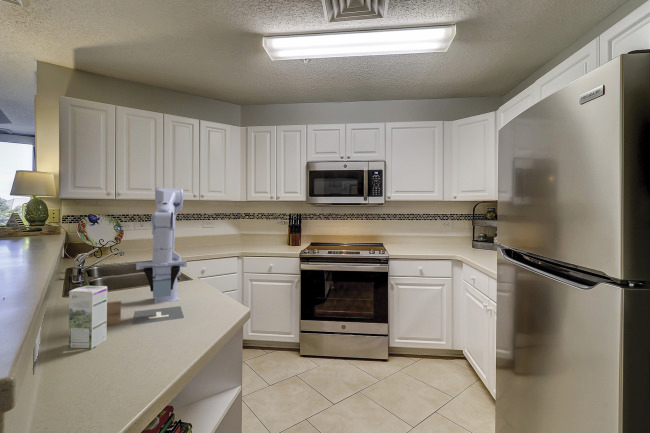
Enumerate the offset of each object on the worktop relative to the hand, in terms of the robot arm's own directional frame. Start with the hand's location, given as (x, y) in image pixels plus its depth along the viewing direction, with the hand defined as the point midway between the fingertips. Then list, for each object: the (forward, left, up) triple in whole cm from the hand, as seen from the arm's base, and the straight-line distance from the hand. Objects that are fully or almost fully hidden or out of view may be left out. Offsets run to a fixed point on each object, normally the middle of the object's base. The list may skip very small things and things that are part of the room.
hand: (161, 289), depth 100 cm
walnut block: (+1, -14, -8) cm, 16 cm away
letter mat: (0, -1, -8) cm, 8 cm away
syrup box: (+17, -17, -9) cm, 25 cm away
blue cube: (0, 0, -2) cm, 2 cm away
